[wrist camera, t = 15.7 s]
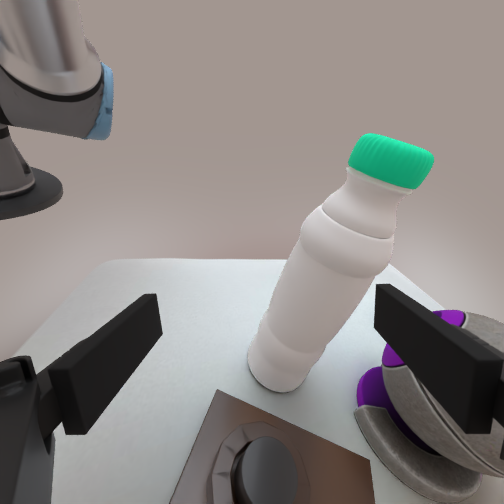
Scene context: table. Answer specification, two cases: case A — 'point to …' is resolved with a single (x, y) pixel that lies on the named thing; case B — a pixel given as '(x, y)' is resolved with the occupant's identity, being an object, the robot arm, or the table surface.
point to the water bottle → (335, 260)
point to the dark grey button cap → (266, 473)
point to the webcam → (428, 424)
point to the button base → (294, 438)
